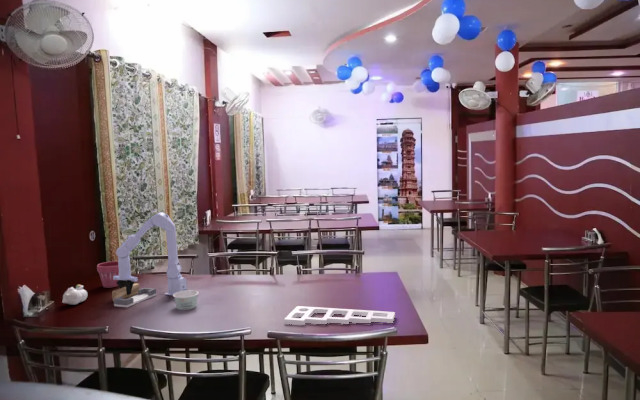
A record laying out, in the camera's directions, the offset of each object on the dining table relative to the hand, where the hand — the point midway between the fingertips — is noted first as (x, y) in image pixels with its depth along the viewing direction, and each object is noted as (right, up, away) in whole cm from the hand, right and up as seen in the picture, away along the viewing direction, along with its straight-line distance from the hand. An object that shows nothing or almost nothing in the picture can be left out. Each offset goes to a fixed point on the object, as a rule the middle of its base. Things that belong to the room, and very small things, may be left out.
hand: (126, 293), depth 248 cm
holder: (+111, -3, -45) cm, 120 cm away
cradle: (+8, -2, -7) cm, 11 cm away
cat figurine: (-22, -3, -9) cm, 24 cm away
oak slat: (0, -2, 0) cm, 2 cm away
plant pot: (-18, 0, +23) cm, 29 cm away
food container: (+37, -3, -20) cm, 42 cm away
